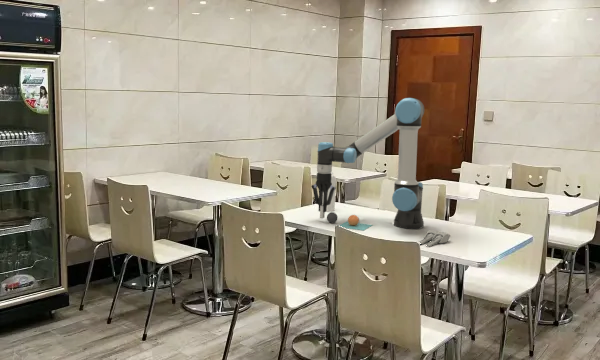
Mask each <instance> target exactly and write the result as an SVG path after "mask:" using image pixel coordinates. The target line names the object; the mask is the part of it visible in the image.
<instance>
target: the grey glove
mask: <svg viewBox="0 0 600 360" xmlns="http://www.w3.org/2000/svg"><path fill="white" fill-rule="evenodd" d="M450 238H451V235H450V234H449V233H447V232H444V231H438V230H432V229H431V230H430V229H429V230H428V231H427V232H426V234H425V235H424V237H423V239H421V240H420V241H419V242H420V243H421V244H423V245H424V244H425V246H426V245H427V246H431V247H432V245H433V246H435V245H437V244H436V243H439V244H443V243H447V242H448V241H449V240H450ZM428 241H431V242H428ZM426 243H427V244H426ZM427 246H426V247H427Z"/></svg>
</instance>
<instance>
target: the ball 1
mask: <svg viewBox="0 0 600 360" xmlns="http://www.w3.org/2000/svg"><path fill="white" fill-rule="evenodd" d="M326 220H327V222H329V223H330V224H335V223H336V222H337V221H338V215H337V213H336V212H334V211H330V212H328V214H327V215H326Z"/></svg>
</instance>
